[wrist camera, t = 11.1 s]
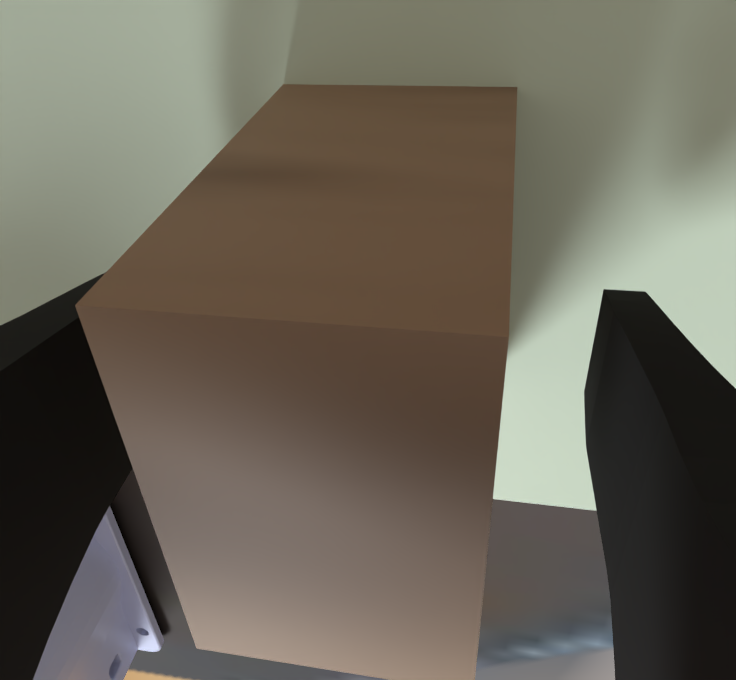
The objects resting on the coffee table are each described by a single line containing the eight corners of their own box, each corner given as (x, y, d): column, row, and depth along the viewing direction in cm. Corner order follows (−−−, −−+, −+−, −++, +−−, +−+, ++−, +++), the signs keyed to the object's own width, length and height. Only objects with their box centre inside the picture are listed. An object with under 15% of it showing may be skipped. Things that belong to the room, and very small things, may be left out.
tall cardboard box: (493, 370, 15) (473, 693, 9) (314, 356, 15) (196, 648, 10) (517, 86, 11) (508, 337, 6) (283, 83, 12) (74, 305, 6)
